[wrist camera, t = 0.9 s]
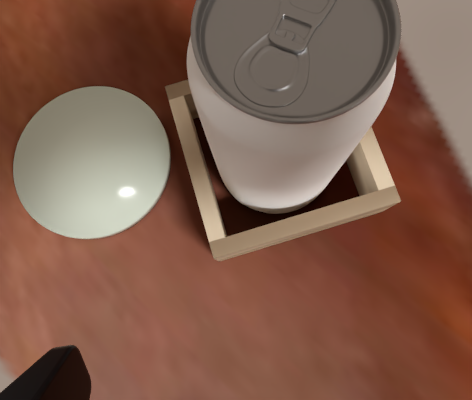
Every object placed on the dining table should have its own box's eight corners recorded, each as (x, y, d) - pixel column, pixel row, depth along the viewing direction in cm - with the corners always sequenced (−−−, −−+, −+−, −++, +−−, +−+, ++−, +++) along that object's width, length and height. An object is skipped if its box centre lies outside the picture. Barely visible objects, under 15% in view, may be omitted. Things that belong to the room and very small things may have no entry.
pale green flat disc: (189, 212, 22) (186, 210, 21) (34, 259, 22) (28, 258, 21) (150, 72, 24) (147, 67, 23) (7, 115, 24) (1, 111, 23)
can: (198, 186, 22) (132, 81, 10) (246, 90, 23) (236, -106, 11) (304, 235, 21) (363, 179, 9) (349, 132, 22) (454, -33, 10)
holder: (381, 212, 21) (401, 201, 18) (219, 261, 21) (213, 258, 18) (324, 66, 23) (334, 35, 20) (176, 111, 23) (164, 86, 20)
